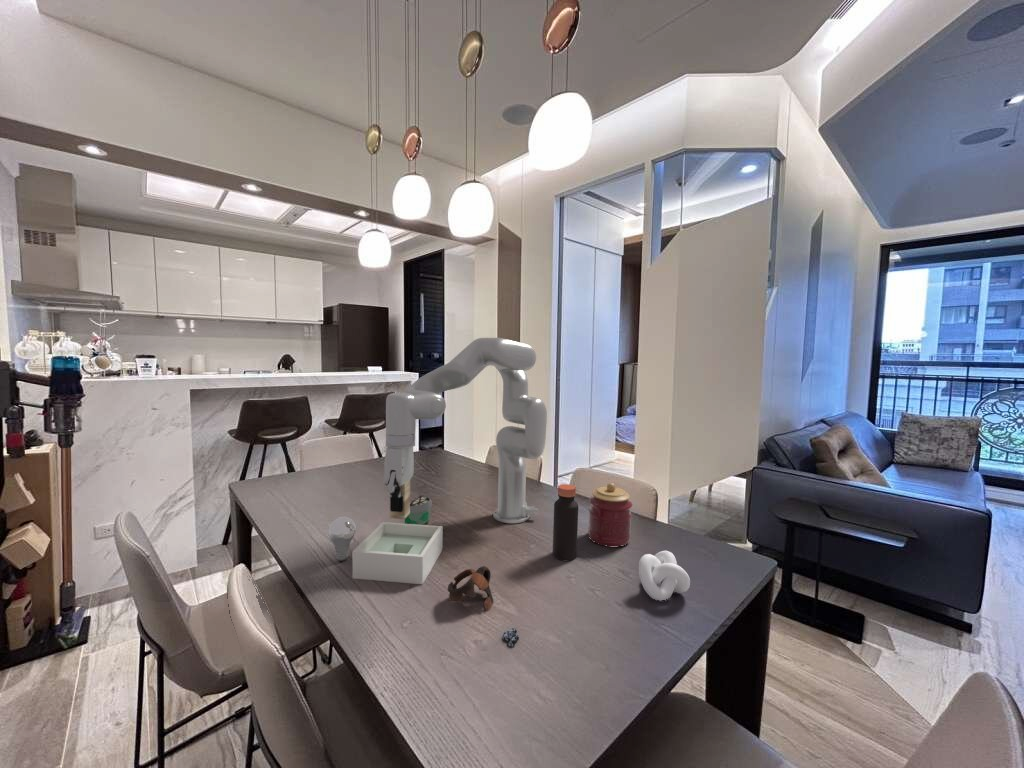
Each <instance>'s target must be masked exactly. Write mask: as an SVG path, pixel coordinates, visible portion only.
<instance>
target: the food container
mask: <svg viewBox="0 0 1024 768" xmlns="http://www.w3.org/2000/svg"><path fill="white" fill-rule="evenodd" d="M432 503H433V502H432V499H431V496H429V495H427V494H424V493H419V496H418V497H417V498H416V499H414V500H412V501H410V514H409V515H408V516H407V517H406V518H405V519H404V524H418V525H429V521H430V519H429V518H430V509H431V508H432V505H433V504H432Z"/></svg>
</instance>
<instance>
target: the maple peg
mask: <svg viewBox="0 0 1024 768" xmlns="http://www.w3.org/2000/svg"><path fill="white" fill-rule="evenodd" d="M395 484H399V483H395ZM395 489H397V490H398V491H399V487H395ZM402 496H403V511H402V512H393V511H391V510H390V509H389V519H396V520H405V518H406V517H407V516H408V515H409V514H410V504H411V479H410V480H408V481H407V482H406V483H405V484H403V485H402Z"/></svg>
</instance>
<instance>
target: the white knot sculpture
mask: <svg viewBox="0 0 1024 768" xmlns="http://www.w3.org/2000/svg"><path fill="white" fill-rule="evenodd" d="M638 575H639V579H640V583H641V584H642V588H643V589H644V591H645V592H646V593H647V596H648V595H649V597H650V598H651V599H652V600H654V599H655V600H654V601H657V600H660V601H659V602H662V601H661V600H665V601H667V600H669V599H670V598H671V597H672V595H673V594H674V593H675V592H678V593H677V594H682V593H686V592H687V591H688V590H689V588H690V586H691V579H690V576H689V574H688V573H687V571H686V570H685V569H684V568H682V566H680V565H679V564H678V563H677V559H676V557H675V555H674V554H673V552H671V551H668V550H662V551H659V552H657V553H656V554H654V555H653V554H651V553H645V554H643V555H642V556H641V557H640V559H639V561H638ZM659 584H660V585H659ZM673 591H675V592H673ZM668 598H669V599H668ZM666 599H667V600H666Z"/></svg>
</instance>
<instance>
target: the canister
mask: <svg viewBox="0 0 1024 768" xmlns="http://www.w3.org/2000/svg"><path fill="white" fill-rule="evenodd" d="M630 498H631V496H630V494H629V493H628V492H626V491H625V490H624V489H622V488H620V487H616V485H615V484H614V483H613V482H609V483H608V484H607V486H606V485H605V486H600V487H598V488H596V489H594V490H593V491H592V496H590V498H589V500H588V501H589V503H590V507H589V509H588V512H589V516H588V528H587V533H588V538H589V537H590V538H591V539H592V540H593V541H595V542H597V543H599V544H602V545H607V546H621V545H625V544H627V543H628V542H629V541H630V540H631V538H632V537H631V534H632V533H631V530H632V529H631V528H632V526H631V524H632V522H631V521H632V517H633V515H632V512H631V508H632V507H633V503H632V501H631V500H630ZM590 538H589V539H590ZM591 539H590V540H591ZM592 540H591V541H592ZM593 541H592V542H593ZM595 542H594V543H595ZM630 542H631V541H630ZM630 542H629V543H630ZM629 543H628V544H629ZM599 544H598V545H599ZM628 544H627V545H628ZM602 545H601V546H602ZM625 546H626V545H625Z"/></svg>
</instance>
